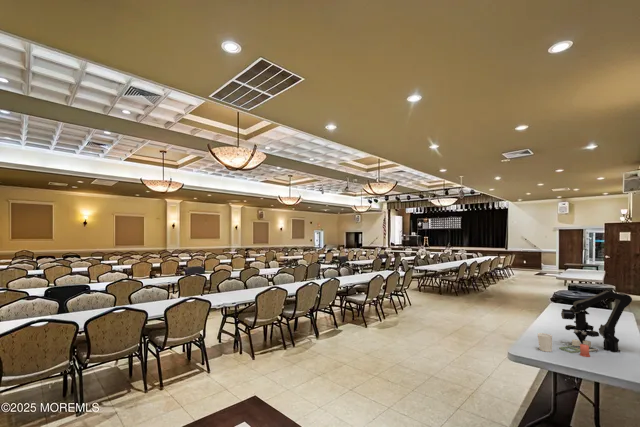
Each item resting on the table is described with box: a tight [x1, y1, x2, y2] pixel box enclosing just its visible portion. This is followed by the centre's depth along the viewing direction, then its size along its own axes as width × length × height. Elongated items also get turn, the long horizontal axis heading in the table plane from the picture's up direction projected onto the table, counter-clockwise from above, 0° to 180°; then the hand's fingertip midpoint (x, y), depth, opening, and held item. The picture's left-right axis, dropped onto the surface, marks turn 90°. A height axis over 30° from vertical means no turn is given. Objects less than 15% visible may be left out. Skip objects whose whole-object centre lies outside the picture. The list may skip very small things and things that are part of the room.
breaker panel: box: [569, 344, 599, 353], centre depth 211 cm, size 11×10×1 cm
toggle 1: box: [571, 339, 581, 346], centre depth 214 cm, size 3×3×4 cm
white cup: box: [537, 332, 553, 353], centre depth 210 cm, size 8×8×10 cm
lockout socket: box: [558, 345, 580, 354], centre depth 209 cm, size 8×11×1 cm
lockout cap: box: [579, 343, 591, 358], centre depth 200 cm, size 5×5×6 cm
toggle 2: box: [583, 339, 592, 347], centre depth 212 cm, size 3×3×4 cm
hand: (582, 343), depth 215 cm, fingers closed
